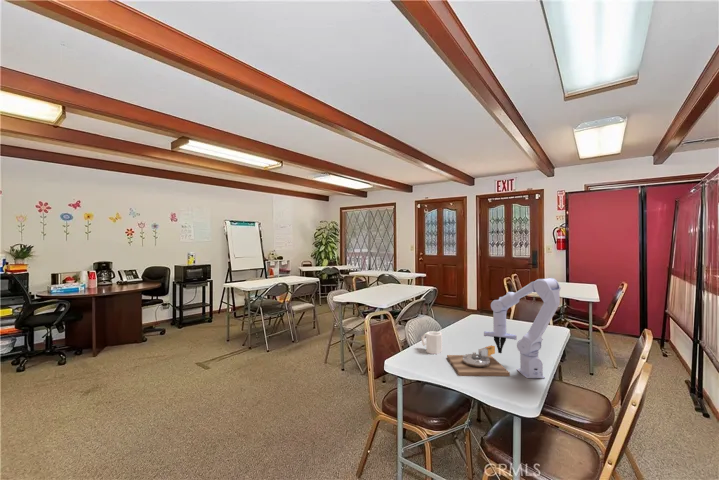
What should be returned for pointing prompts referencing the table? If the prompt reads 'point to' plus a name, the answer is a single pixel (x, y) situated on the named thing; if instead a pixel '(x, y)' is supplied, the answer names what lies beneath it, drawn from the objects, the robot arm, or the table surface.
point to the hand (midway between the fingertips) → (500, 352)
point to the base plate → (467, 370)
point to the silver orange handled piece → (479, 357)
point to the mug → (432, 342)
